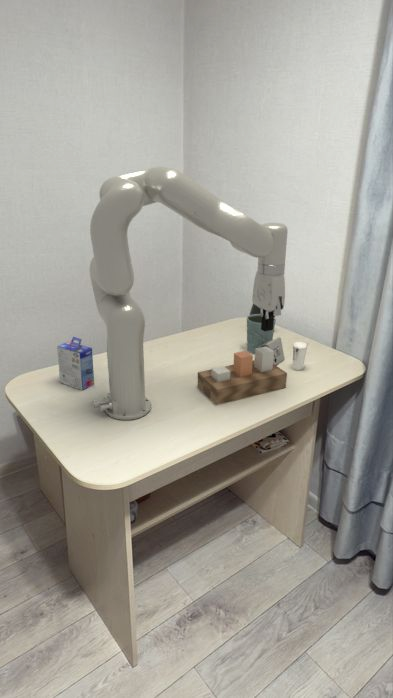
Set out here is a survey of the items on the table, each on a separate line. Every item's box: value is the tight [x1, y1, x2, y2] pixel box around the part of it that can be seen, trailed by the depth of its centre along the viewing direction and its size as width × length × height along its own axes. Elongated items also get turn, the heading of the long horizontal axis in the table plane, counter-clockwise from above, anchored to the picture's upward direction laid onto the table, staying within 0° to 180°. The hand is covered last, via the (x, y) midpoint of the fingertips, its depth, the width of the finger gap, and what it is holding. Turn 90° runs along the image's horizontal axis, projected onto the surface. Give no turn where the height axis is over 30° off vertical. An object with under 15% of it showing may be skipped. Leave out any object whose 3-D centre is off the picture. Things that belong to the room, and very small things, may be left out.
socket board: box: [197, 359, 288, 406], centre depth 141 cm, size 24×12×5 cm, turn 117°
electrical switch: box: [262, 336, 285, 366], centre depth 158 cm, size 8×5×8 cm, turn 141°
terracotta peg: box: [233, 350, 254, 377], centre depth 139 cm, size 4×4×6 cm
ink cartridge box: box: [56, 336, 95, 391], centre depth 141 cm, size 10×6×14 cm, turn 58°
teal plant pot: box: [246, 314, 277, 355], centre depth 167 cm, size 10×10×12 cm
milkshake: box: [292, 341, 309, 371], centre depth 153 cm, size 4×5×10 cm
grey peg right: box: [254, 347, 274, 372], centre depth 142 cm, size 4×4×6 cm
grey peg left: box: [211, 365, 230, 382], centre depth 138 cm, size 4×4×6 cm
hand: (267, 329), depth 139 cm, fingers closed
